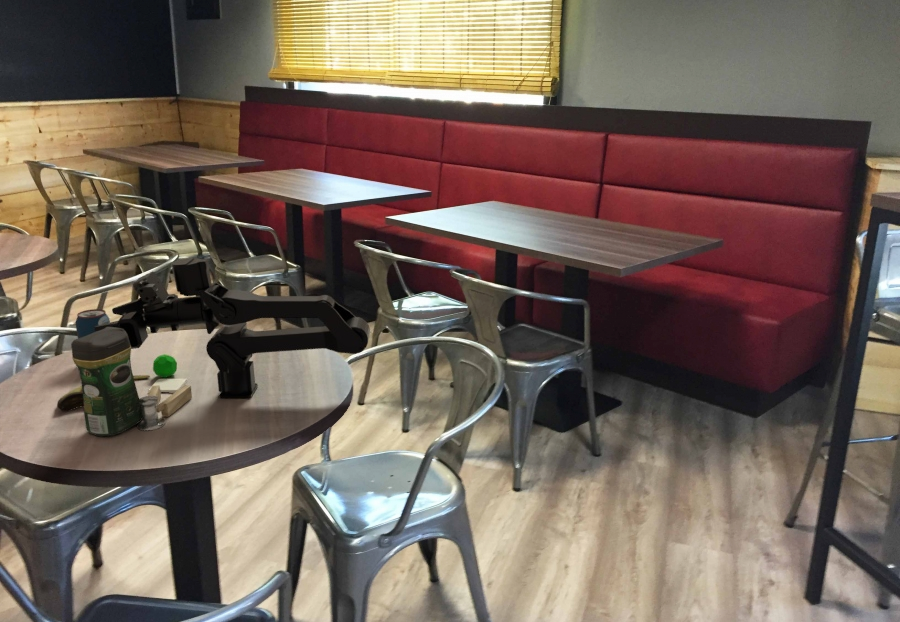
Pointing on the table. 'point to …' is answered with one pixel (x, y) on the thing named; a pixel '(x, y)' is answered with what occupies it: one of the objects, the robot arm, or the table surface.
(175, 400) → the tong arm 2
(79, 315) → the soda can
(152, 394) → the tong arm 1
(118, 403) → the coffee jar
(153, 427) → the grey spool
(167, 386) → the coaster
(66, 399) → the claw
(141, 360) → the table surface
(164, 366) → the polyhedron
